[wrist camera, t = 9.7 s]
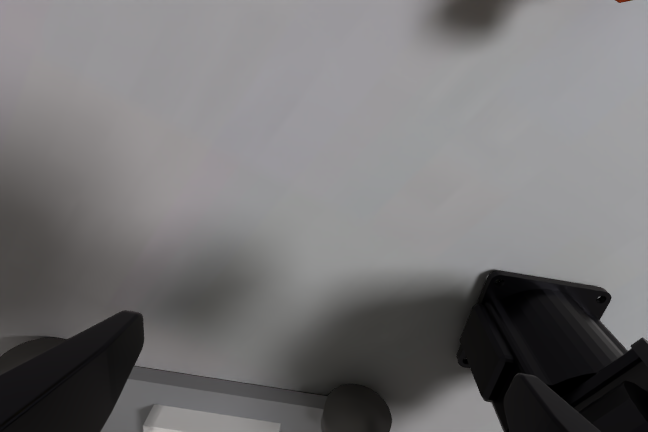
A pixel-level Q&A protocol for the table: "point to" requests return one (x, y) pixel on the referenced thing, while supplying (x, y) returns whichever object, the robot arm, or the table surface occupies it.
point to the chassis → (225, 403)
